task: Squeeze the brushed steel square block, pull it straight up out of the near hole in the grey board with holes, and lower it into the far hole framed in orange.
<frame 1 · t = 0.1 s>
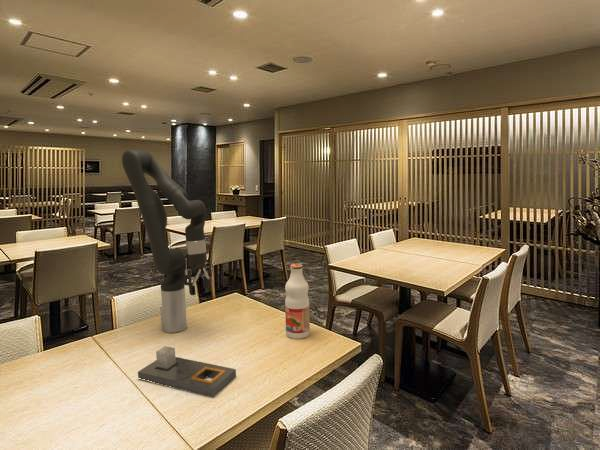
hand: (199, 291, 151), 17 cm above the table, tool pointing down, fingers open, 8 cm apart
steel block: (167, 373, 123), resting in grey board with holes
fruit juice: (297, 334, 151), on the table
grey board with holes: (187, 377, 120), on the table
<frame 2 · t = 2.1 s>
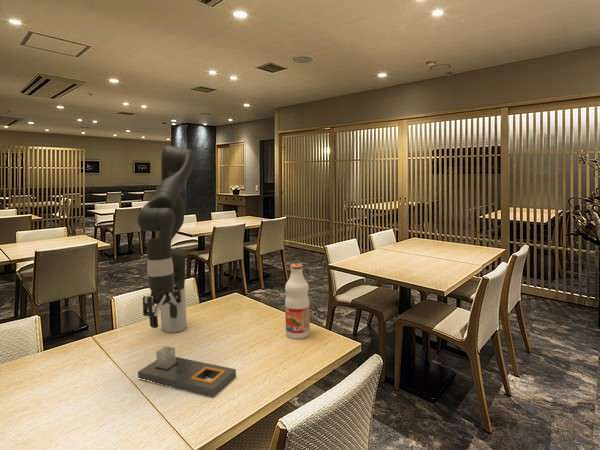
hand: (164, 322, 121), 17 cm above the table, tool pointing down, fingers open, 8 cm apart
nothing on the table moved.
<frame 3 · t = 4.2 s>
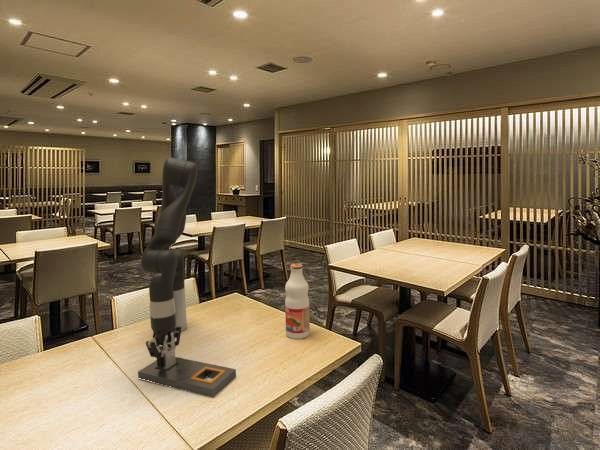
hand: (166, 363, 122), 3 cm above the table, tool pointing down, fingers closed on steel block, 4 cm apart
steel block: (167, 373, 123), resting in grey board with holes, touching gripper
everything else where it was.
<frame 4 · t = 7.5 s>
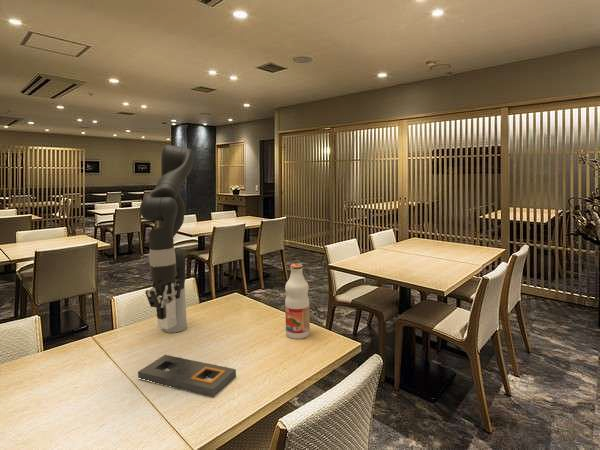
hand: (166, 316, 119), 19 cm above the table, tool pointing down, fingers closed on steel block, 4 cm apart
steel block: (167, 326, 120), point 16 cm above the table, touching gripper
everything else where it was.
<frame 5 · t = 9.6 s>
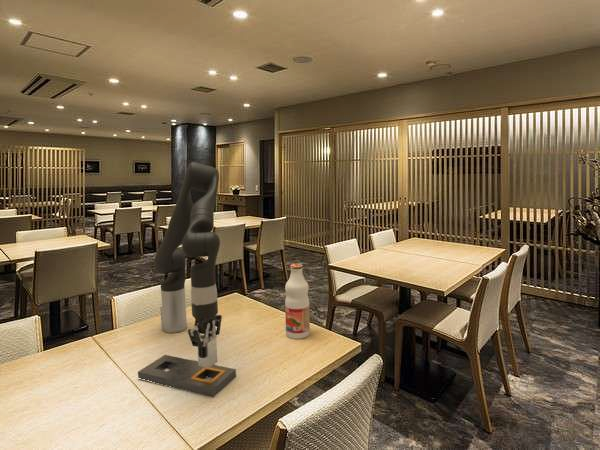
hand: (207, 353, 116), 9 cm above the table, tool pointing down, fingers closed on steel block, 4 cm apart
steel block: (208, 364, 116), point 6 cm above the table, touching gripper
everything else where it was.
when the fingers open (4 cm above the table, at t = 11.1 s): steel block stays where it is, resting in grey board with holes.
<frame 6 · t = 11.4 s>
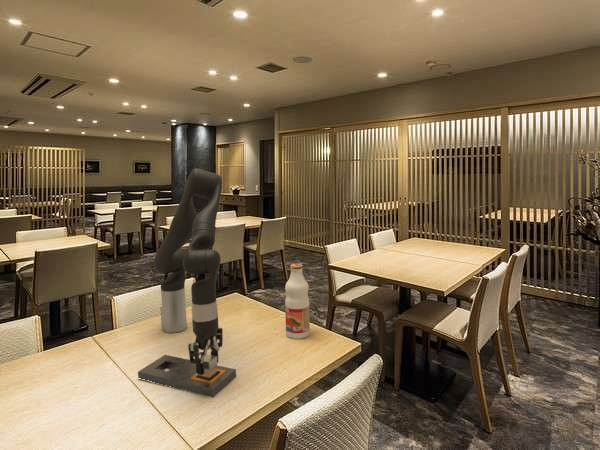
hand: (207, 368, 116), 5 cm above the table, tool pointing down, fingers open, 6 cm apart
steel block: (208, 382, 117), resting in grey board with holes
everything else where it was.
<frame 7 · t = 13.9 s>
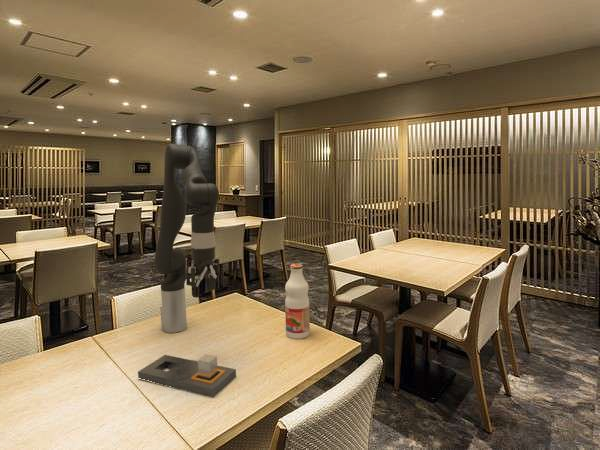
hand: (204, 293, 127), 24 cm above the table, tool pointing down, fingers open, 8 cm apart
nothing on the table moved.
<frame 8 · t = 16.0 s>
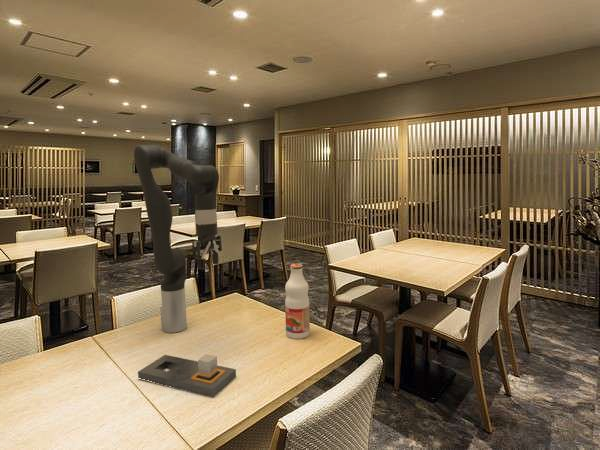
hand: (208, 266, 138), 30 cm above the table, tool pointing down, fingers open, 8 cm apart
nothing on the table moved.
at the end: steel block 0.0 cm from the target spot on the grey board with holes, point 0.0 cm above the grey board with holes's base; steel block tilted 0°; the gripper is holding nothing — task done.
